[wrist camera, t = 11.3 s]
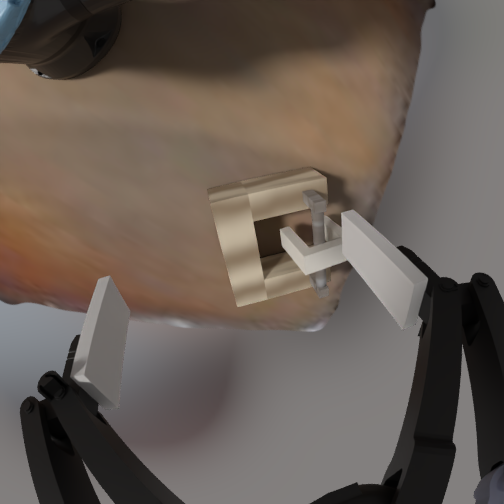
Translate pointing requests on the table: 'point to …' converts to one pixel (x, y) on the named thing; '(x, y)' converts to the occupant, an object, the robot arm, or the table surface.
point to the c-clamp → (244, 238)
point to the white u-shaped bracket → (315, 248)
